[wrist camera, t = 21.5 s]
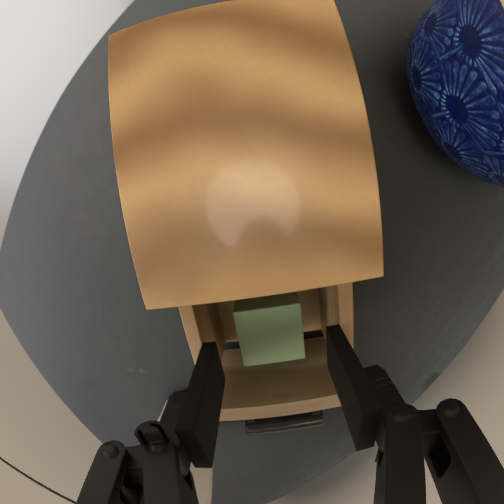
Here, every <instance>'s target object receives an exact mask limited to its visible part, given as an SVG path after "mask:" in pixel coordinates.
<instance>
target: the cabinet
mask: <svg viewBox="0 0 504 504" xmlns="http://www.w3.org/2000/svg"><path fill="white" fill-rule="evenodd" d="M108 79H109V104H110V119H111V131H112V141H113V150H114V159H115V166H116V174H117V181H118V187H119V193H120V199H121V205H122V211H123V216H124V221H125V226H126V231H127V236H128V240H129V245H130V249H131V254H132V258H133V262H134V266H135V270H136V274H137V278H138V282H139V286H140V289H141V293H142V297H143V300H144V304H145V307H146V309H147V310H149V309H160V308H170V307H180V306H189V305H199V304H207V303H216V302H224V301H232V300H240V299H247V298H255V297H262V296H269V295H276V294H283V293H290V292H296V291H303V290H309V289H315V288H321V287H327V286H333V285H339V284H345V283H350V282H356V281H362V280H367V279H372V278H378V277H383V276H384V267H383V238H382V221H381V209H380V198H379V188H378V179H377V171H376V164H375V157H374V150H373V144H372V138H371V133H370V127H369V122H368V117H367V112H366V107H365V102H364V98H363V94H362V89H361V85H360V81H359V77H358V73H357V70H356V66H355V62H354V59H353V55H352V52H351V49H350V45H349V42H348V39H347V36H346V33H345V30H344V27H343V24H342V21H341V18H340V15H339V13H338V10H337V7H336V5H335V2H334V0H233V1H227V2H220V3H215V4H209V5H204V6H200V7H195V8H191V9H186V10H182V11H178V12H175V13H171V14H167V15H164V16H161V17H157V18H154V19H151V20H148V21H145V22H142V23H139V24H136V25H133V26H131V27H128V28H125V29H123V30H120V31H118V32H115V33H113V34H110V35H109V44H108Z"/></svg>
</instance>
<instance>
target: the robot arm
mask: <svg viewBox="0 0 504 504" xmlns="http://www.w3.org/2000/svg"><path fill="white" fill-rule="evenodd" d="M326 342H327V367H328V369H329V372H330V375H331V378H332V381H333V383H334V386H335V389H336V392H337V395H338V398H339V401H340V403H341V406H342V409H343V412H344V415H345V418H346V421H347V424H348V427H349V430H350V433H351V436H352V439H353V442H354V445H355V448H356V451H359V450H363V449H366V448H370V447H373V446H374V442H375V440H376V442H377V445H378V447H379V448H378V452H377V455H376V459H375V462H377V470H376V484H375V494H374V504H426V484H425V467H424V458H425V460H426V463H427V465H428V468H429V470H430V473H431V475H432V478H433V480H434V483H435V486H436V488H437V491H438V494H439V497H440V499H441V502H442V504H504V468H503V467H502V465H501V463H500V461H499V460H498V458H497V456H496V454H495V453H494V451H493V449H492V447H491V446H490V444H489V443H488V441H487V439H486V437H485V436H484V434H483V433H482V431H481V429H480V428H479V426H478V425H477V423H476V422H475V420H474V419H473V417H472V415H471V414H470V412H469V411H468V409H467V408H466V406H465V405H464V404H463V403H462V402H461V401H460V400H457V399H451V398H450V399H445V400H443V401H441V402H440V403H439V404H438V406H437V408H436V409H431V410H417V409H416V408H415V407H414V406H412V405H409V404H406V403H405V402H404V400H403V399H402V397H401V395H400V394H399V392H398V390H397V389H396V387H395V386H394V384H393V383H392V381H391V379H390V378H389V376H388V374H387V373H386V371H385V370H384V369H383V368H381V367H380V366H378V365H374V366H370V367H366V368H363V367H362V365H361V363H360V361H359V359H358V357H357V356H356V354H355V352H354V350H353V348H352V346H351V344H350V343H349V341H348V339H347V337H346V335H345V334H344V332H343V330H342V328H341V326H340V325H339V324H337V325H331V326H326ZM225 380H226V379H225V375H224V371H223V368H222V364H221V360H220V356H219V352H218V348H217V344H216V342H205V343H202V346H201V349H200V352H199V355H198V358H197V361H196V364H195V367H194V370H193V373H192V376H191V379H190V383H189V386H188V389H187V392H174V393H173V394H172V395H171V396H170V397H169V398H168V400H167V403H166V405H165V408H164V411H163V413H162V416H161V418H160V421H147V422H144V423H142V424H141V425H139V426H138V427H137V428H136V430H135V433H134V434H135V436H136V437H137V439H138V441H139V442H140V444H141V445H138V446H132V447H125V446H124V445H123V444H122V443H121V442H119V441H108V442H105V443H104V444H102V445H101V446H100V448H99V449H98V451H97V454H96V456H95V458H94V461H93V463H92V465H91V468H90V470H89V472H88V475H87V477H86V479H85V482H84V484H83V487H82V489H81V492H80V495H79V497H78V500H77V502H75V501H73V500H70V499H69V498H66V497H65V496H62V495H60V494H59V493H57V492H55V491H53V490H51V489H50V488H48V487H46V486H44V485H43V484H41V483H39V482H37V481H36V480H34V479H32V478H31V477H29V476H27V475H26V474H24V473H23V472H21V471H19V470H18V469H17V468H15V467H14V466H12V465H11V464H9V463H8V462H6V461H5V460H3V459H2V458H1V457H0V459H1V460H2V461H3V462H5V463H6V464H8V465H9V466H11V467H12V468H13V469H15V470H16V471H18V472H20V473H21V474H23V475H25V476H26V477H27V478H29V479H31V480H32V481H34V482H36V483H37V484H39V485H40V486H42V487H44V488H46V489H47V490H49V491H51V492H53V493H55V494H57V495H58V496H60V497H62V498H64V499H66V500H68V501H70V502H72V503H74V504H199V502H198V497H197V493H196V489H195V484H194V479H193V475H192V473H191V471H190V465H191V462H192V464H193V465H194V467H195V468H212V465H213V459H214V452H215V445H216V439H217V432H218V426H219V419H220V413H221V406H222V400H223V393H224V387H225Z"/></svg>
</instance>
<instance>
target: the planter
mask: <svg viewBox="0 0 504 504" xmlns="http://www.w3.org/2000/svg"><path fill="white" fill-rule="evenodd" d="M407 78H408V83H409V88H410V92H411V95H412V98H413V101H414V104H415V106H416V109H417V111H418V113H419V115H420V117H421V119H422V121H423V123H424V125H425V127H426V128H427V130H428V132H429V133H430V135H431V136H432V138H433V139H434V141H435V142H436V143H437V145H438V146H439V147H440V148H441V149H442V151H443V152H444V153H445V154H446V155H447V156H448V157H449V158H450V159H452V160H453V161H454V162H455V163H456V164H457V165H459V166H460V167H461V168H463V169H464V170H466V171H467V172H469V173H470V174H472V175H474V176H476V177H478V178H480V179H482V180H484V181H487V182H489V183H492V184H495V185H499V186H502V187H504V0H436V1H435V2H434V3H433V4H432V5H431V7H430V8H429V9H428V10H427V11H426V12H425V13H424V15H423V16H422V17H421V19H420V20H419V22H418V23H417V25H416V27H415V29H414V31H413V33H412V36H411V39H410V42H409V46H408V51H407Z"/></svg>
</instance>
